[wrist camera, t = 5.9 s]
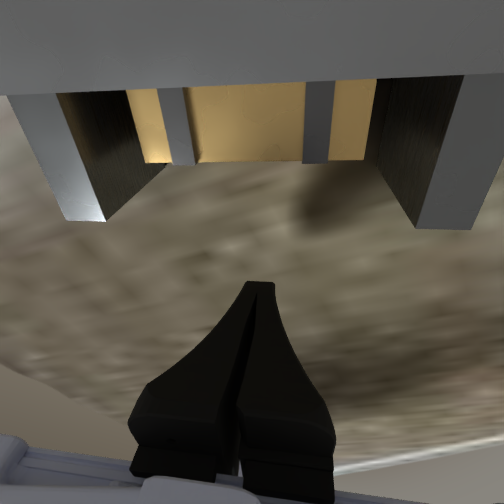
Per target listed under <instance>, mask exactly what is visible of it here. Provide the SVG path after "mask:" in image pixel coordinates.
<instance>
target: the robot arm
mask: <svg viewBox="0 0 504 504" xmlns="http://www.w3.org/2000/svg"><path fill="white" fill-rule="evenodd" d="M128 427H129V429H130V431H131V433H132V435H133V436H134V438H135V440H136V441H137V443H138V444H139V446H138V449H137V451H136V453H135V456H134V458H133V461H127V460H120V459H113V458H106V457H99V456H92V455H85V454H78V453H71V452H64V451H57V450H50V449H43V448H36V447H29V446H28V444H27V443H26V442H25V441H24V440H23V439H21V438H19V437H17V436H13V435H6V434H0V504H426V503H420V502H413V501H406V500H399V499H392V498H385V497H378V496H371V495H364V494H357V493H350V492H343V491H336V490H334V480H333V471H334V465H333V453H334V449H335V445H336V435H335V430H334V426H333V423H332V420H331V417H330V414H329V411H328V409H327V406H326V404H325V401H324V400H323V398H322V397H321V396H320V394H319V393H318V391H317V390H316V388H315V387H314V385H313V384H312V382H311V381H310V379H309V378H308V376H307V374H306V373H305V371H304V369H303V367H302V365H301V364H300V362H299V360H298V358H297V356H296V354H295V352H294V350H293V348H292V346H291V344H290V342H289V339H288V337H287V335H286V332H285V329H284V327H283V324H282V321H281V318H280V314H279V311H278V307H277V303H276V297H275V284H274V283H273V282H259V281H247V282H245V284H244V286H243V288H242V290H241V291H240V293H239V295H238V296H237V298H236V299H235V301H234V302H233V304H232V305H231V307H230V308H229V310H228V311H227V312H226V314H225V315H224V316H223V317H222V319H221V320H220V321H219V322H218V324H217V325H216V326H215V327H214V328H213V330H212V331H211V332H210V333H209V334H208V335H207V336H206V337H205V338H204V339H203V340H202V341H201V342H200V343H199V344H198V345H197V346H196V347H195V348H194V349H193V350H192V351H191V352H189V353H188V354H187V355H186V356H185V357H183V358H182V359H181V360H180V361H179V362H177V363H176V364H175V365H174V366H172V367H171V368H170V369H168V370H167V371H166V372H164V373H163V374H161V375H160V376H158V377H157V378H155V379H154V380H153V381H151V382H150V383H148V384H147V385H146V386H145V388H144V390H143V391H142V393H141V395H140V396H139V398H138V400H137V402H136V404H135V406H134V409H133V411H132V413H131V415H130V417H129V419H128ZM495 504H504V503H495Z"/></svg>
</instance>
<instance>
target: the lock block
mask: <svg viewBox="0 0 504 504" xmlns="http://www.w3.org/2000/svg"><path fill="white" fill-rule="evenodd" d="M376 82H377V79H357V80H335V81H313V82H290V83H268V84H246V85H223V86H201V87H179V88H156V89H134V90H126V93H127V96H128V100H129V104H130V108H131V111H132V115H133V119H134V122H135V126H136V130H137V133H138V137H139V141H140V144H141V148H142V152H143V155H144V159H145V163H173V165H196V164H197V163H198V162H247V161H302V164H321V163H328V160H364V154H365V148H366V142H367V136H368V130H369V124H370V118H371V112H372V106H373V100H374V94H375V88H376Z"/></svg>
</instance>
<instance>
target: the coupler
mask: <svg viewBox="0 0 504 504" xmlns="http://www.w3.org/2000/svg"><path fill="white" fill-rule="evenodd" d="M380 78H394V79H393V84H392V89H391V94H390V99H389V104H388V109H387V114H386V119H385V124H384V129H383V134H382V139H381V144H380V149H379V154H378V159H377V164H376V167H377V168H378V170H379V171H380V173H381V175H382V176H383V178H384V179H385V181H386V183H387V184H388V186H389V187H390V189H391V190H392V192H393V194H394V195H395V197H396V198H397V200H398V202H399V203H400V205H401V206H402V208H403V210H404V211H405V213H406V214H407V216H408V218H409V219H410V221H411V222H412V224H413V225H414V227H415V229H452V230H471V228H472V226H473V224H474V222H475V219H476V217H477V215H478V213H479V211H480V208H481V206H482V204H483V202H484V199H485V197H486V195H487V193H488V191H489V188H490V186H491V184H492V182H493V179H494V177H495V175H496V173H497V171H498V168H499V166H500V164H501V162H502V159H503V157H504V0H0V95H6V96H7V98H8V100H9V102H10V104H11V106H12V108H13V110H14V112H15V115H16V117H17V119H18V121H19V123H20V125H21V127H22V129H23V131H24V133H25V135H26V137H27V139H28V142H29V144H30V146H31V148H32V150H33V152H34V154H35V156H36V158H37V160H38V162H39V164H40V167H41V169H42V171H43V173H44V175H45V177H46V179H47V181H48V183H49V185H50V187H51V189H52V191H53V194H54V196H55V198H56V200H57V202H58V204H59V206H60V208H61V210H62V212H63V214H64V216H65V218H66V221H107V220H108V219H109V218H110V217H111V216H112V215H113V214H114V213H116V212H117V211H118V210H119V209H120V208H121V207H122V206H123V205H124V204H125V203H127V202H128V201H129V200H130V199H131V198H132V197H133V196H134V195H135V194H136V193H137V192H139V191H140V190H141V189H142V188H143V187H144V186H145V185H146V184H147V183H148V182H150V181H151V180H152V179H153V178H154V177H155V176H156V175H157V174H158V173H159V172H160V171H162V170H163V169H164V168H165V163H145V159H144V155H143V152H142V148H141V144H140V141H139V137H138V133H137V130H136V126H135V122H134V119H133V115H132V111H131V108H130V104H129V100H128V96H127V93H126V90H134V89H156V88H179V87H201V86H223V85H246V84H268V83H290V82H313V81H335V80H357V79H380Z"/></svg>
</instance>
